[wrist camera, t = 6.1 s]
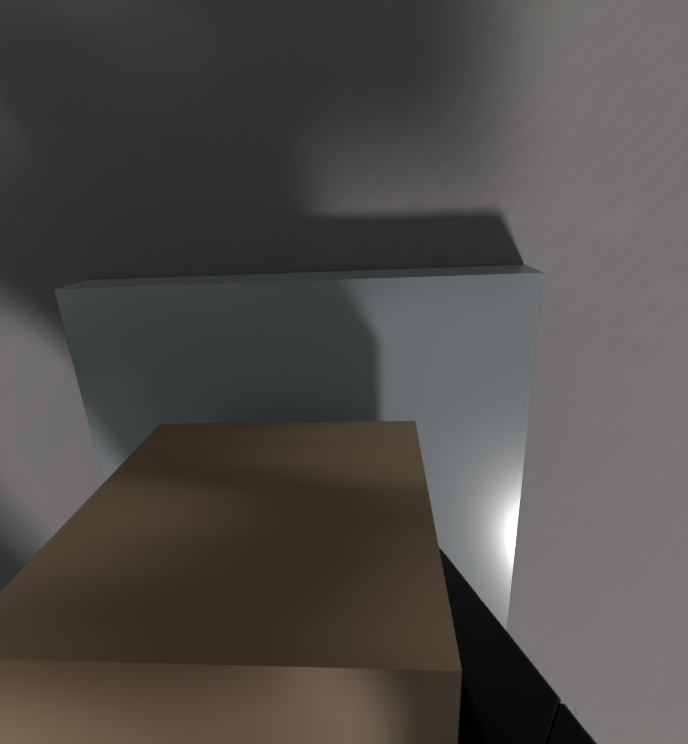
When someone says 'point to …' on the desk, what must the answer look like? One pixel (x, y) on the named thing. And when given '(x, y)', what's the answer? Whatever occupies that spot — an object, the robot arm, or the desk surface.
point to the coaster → (331, 375)
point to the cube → (240, 597)
